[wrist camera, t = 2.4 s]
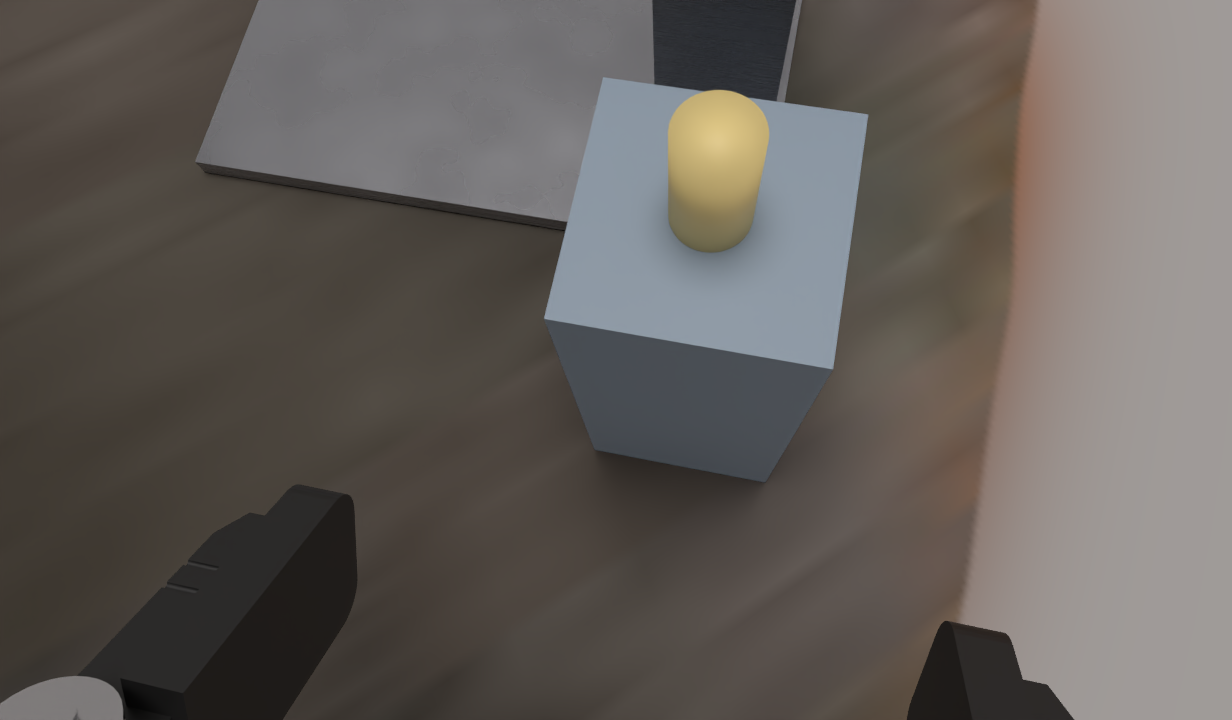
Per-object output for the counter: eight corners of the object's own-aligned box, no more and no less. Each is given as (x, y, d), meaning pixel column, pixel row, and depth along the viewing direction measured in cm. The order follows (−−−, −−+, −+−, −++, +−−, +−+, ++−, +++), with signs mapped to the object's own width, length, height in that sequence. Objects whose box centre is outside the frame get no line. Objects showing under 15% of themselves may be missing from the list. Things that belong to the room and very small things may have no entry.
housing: (594, 449, 24) (519, 255, 12) (628, 293, 25) (591, -22, 13) (765, 482, 23) (865, 313, 11) (790, 321, 24) (904, 18, 13)
